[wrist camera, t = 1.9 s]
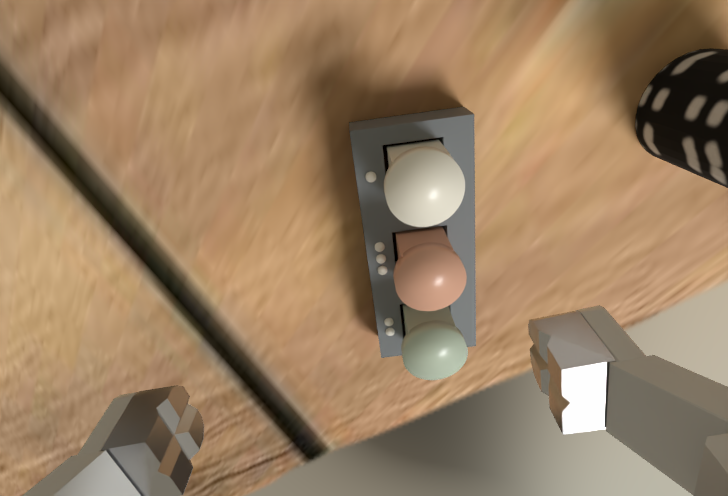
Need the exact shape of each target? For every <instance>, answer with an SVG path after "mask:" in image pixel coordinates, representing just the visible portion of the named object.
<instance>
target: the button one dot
mask: <svg viewBox="0 0 728 496" xmlns="http://www.w3.org/2000/svg"><path fill="white" fill-rule="evenodd" d="M387 155H388V164H389V168H388V170H387V172H386V175H385V179H384V193H385V197H386V201H387V204H388V207H389V209H390V210H391V212H392V213H393V214H394V216H395V217H396V218H398V219H399V220H400V221H402V222H403V223H406V224H408V225H411V226H415V227H429V226H434V225H437V224H439V223H441V222H443V221H445V220H447V219H448V218H449V217H451V216H452V215H453V214H454V213H455V211H456V210H457V209H458V207H459V206H460V204H461V202H462V200H463V197H464V193H465V179H464V175H463V173H462V170H461V169H460V167H459V166H458V164H457V163H456V162H455V161H454V159H453V158H452V157H451V156H450V153H449V152H448V151H447V149H446V148H445V147H444V146H443V144H442V143H441V142H440V141H439V139H438V140H431V141H424V142H416V143H409V144H402V145H394V146H387Z"/></svg>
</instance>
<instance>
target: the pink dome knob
mask: <svg viewBox="0 0 728 496" xmlns="http://www.w3.org/2000/svg"><path fill="white" fill-rule="evenodd" d="M395 235H396V244H397V254H398V261H397V262H396V265H395V268H394V273H393V277H394V283H395V288H396V292H397V294H398V296H399V298H400V299H401V301H402V302H403V303H405V304H406V305H407V306H409V307H411V308H413V309H416V310H419V311H435V310H439V309H442V308H445V307H447V306H449V305H450V304H452V303H453V302H455V301H456V300H457V299H458V298H459V297H460V295H461V294H462V292H463V290H464V288H465V285H466V280H467V276H466V270H465V268H464V265H463V263H462V261H461V259H460V257H459V256H458V254H457V253H456V252H455V251H454V250H453V248H452V246H451V244H450V242H449V239H448V237H447V235H446V233H445V231H444V229H443V227H435V228H427V229H420V230H412V231H404V232H397V233H395Z"/></svg>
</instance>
